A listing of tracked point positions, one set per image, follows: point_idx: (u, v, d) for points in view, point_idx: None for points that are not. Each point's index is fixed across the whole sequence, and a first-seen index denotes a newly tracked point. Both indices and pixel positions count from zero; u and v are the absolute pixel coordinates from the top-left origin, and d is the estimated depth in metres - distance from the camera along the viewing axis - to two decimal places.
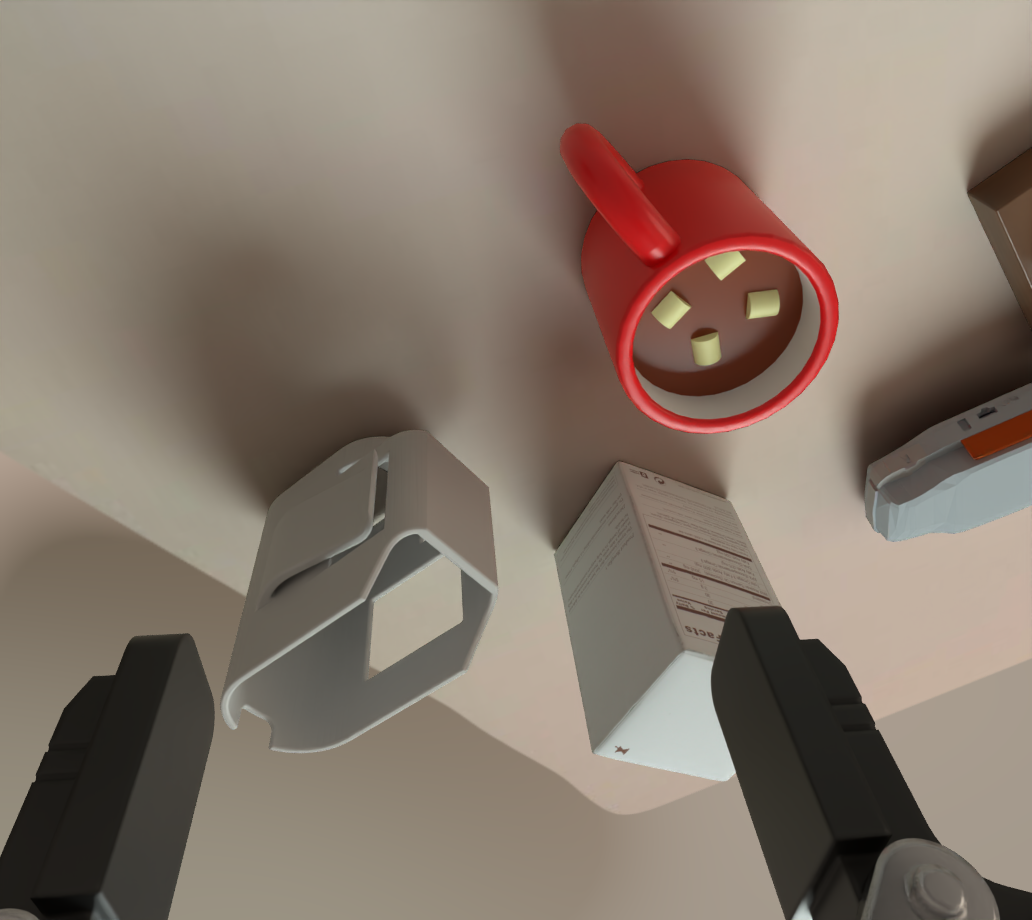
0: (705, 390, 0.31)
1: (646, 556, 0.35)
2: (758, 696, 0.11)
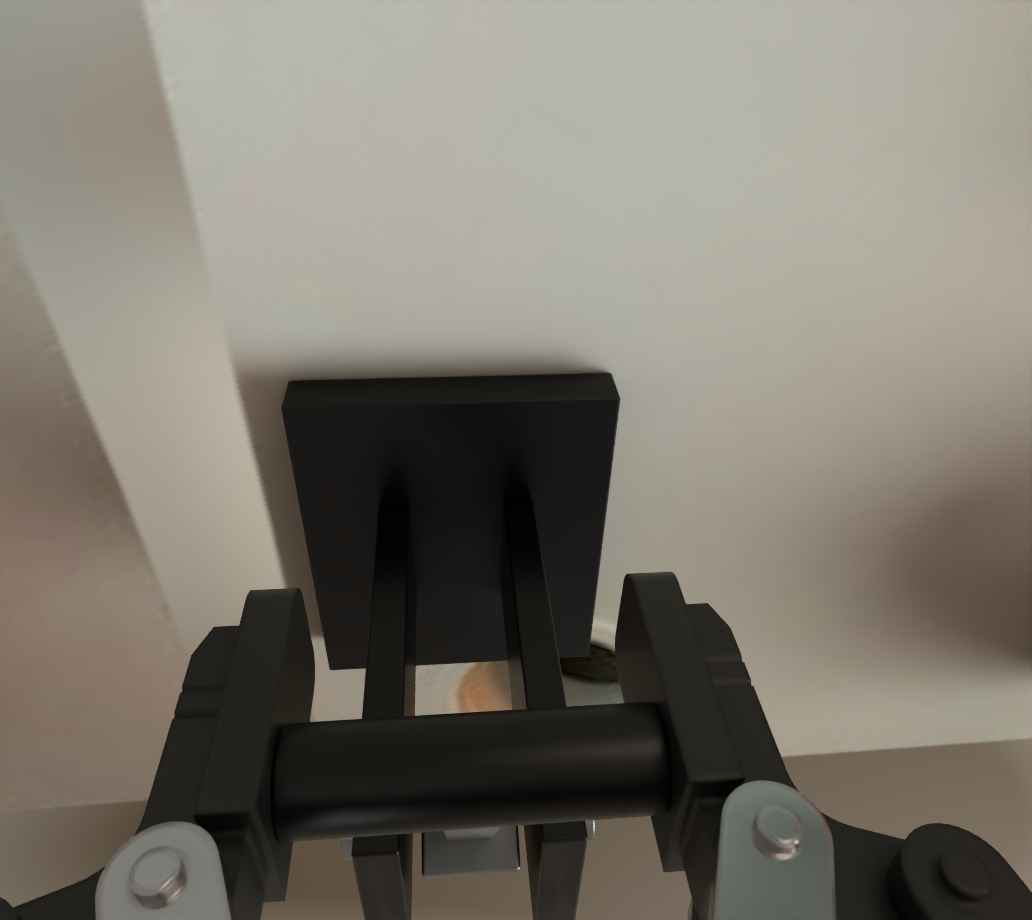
0: None
1: None
2: (643, 654, 0.11)
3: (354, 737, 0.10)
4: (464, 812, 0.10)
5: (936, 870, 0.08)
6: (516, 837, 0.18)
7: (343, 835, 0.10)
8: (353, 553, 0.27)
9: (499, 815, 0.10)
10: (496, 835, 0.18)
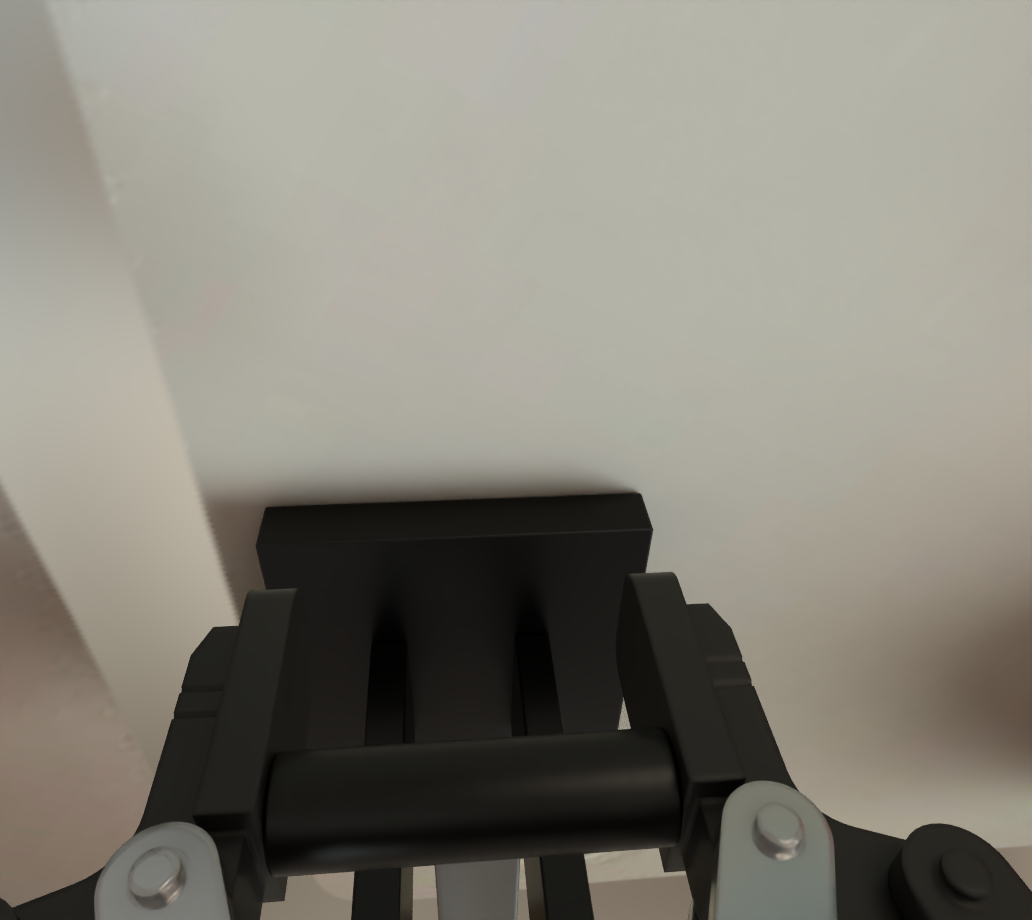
0: None
1: None
2: (644, 655, 0.11)
3: (353, 750, 0.10)
4: (465, 821, 0.09)
5: (937, 870, 0.08)
6: None
7: (336, 856, 0.09)
8: (341, 691, 0.23)
9: (502, 827, 0.09)
10: None
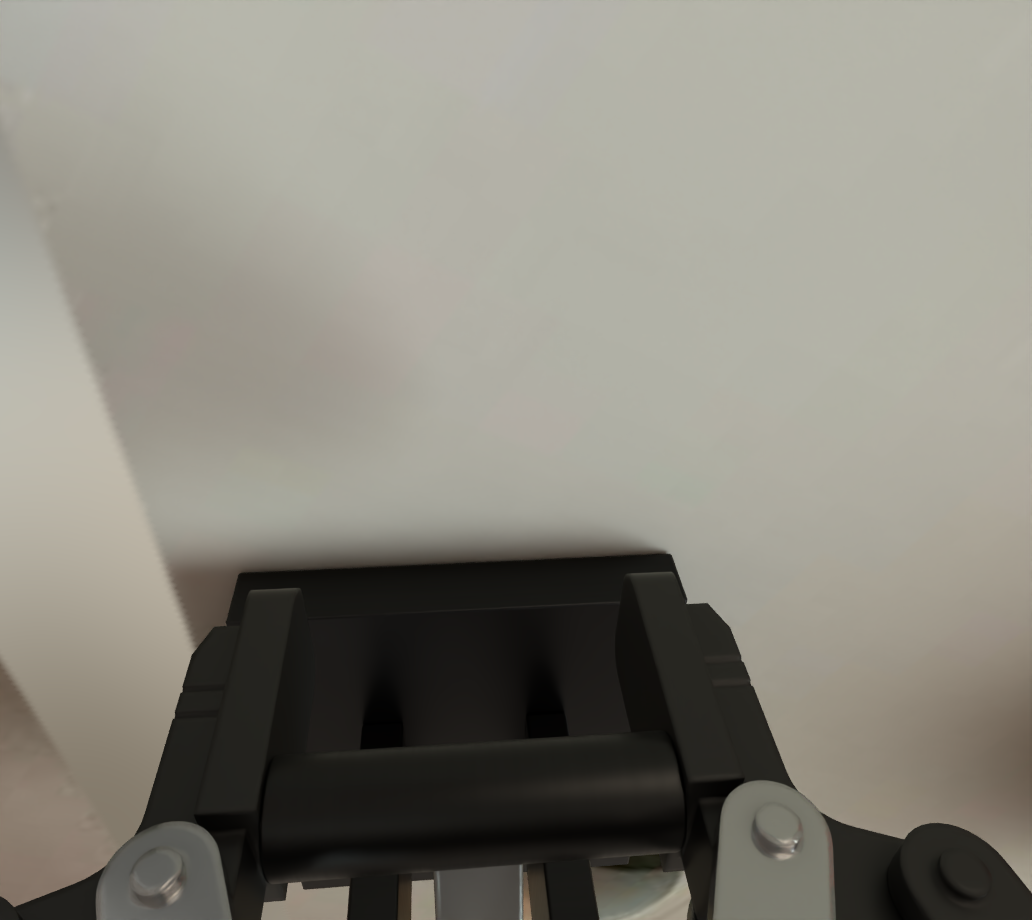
0: None
1: None
2: (643, 655, 0.11)
3: (353, 750, 0.10)
4: (464, 807, 0.09)
5: (936, 870, 0.08)
6: None
7: (332, 847, 0.09)
8: None
9: (502, 815, 0.09)
10: None
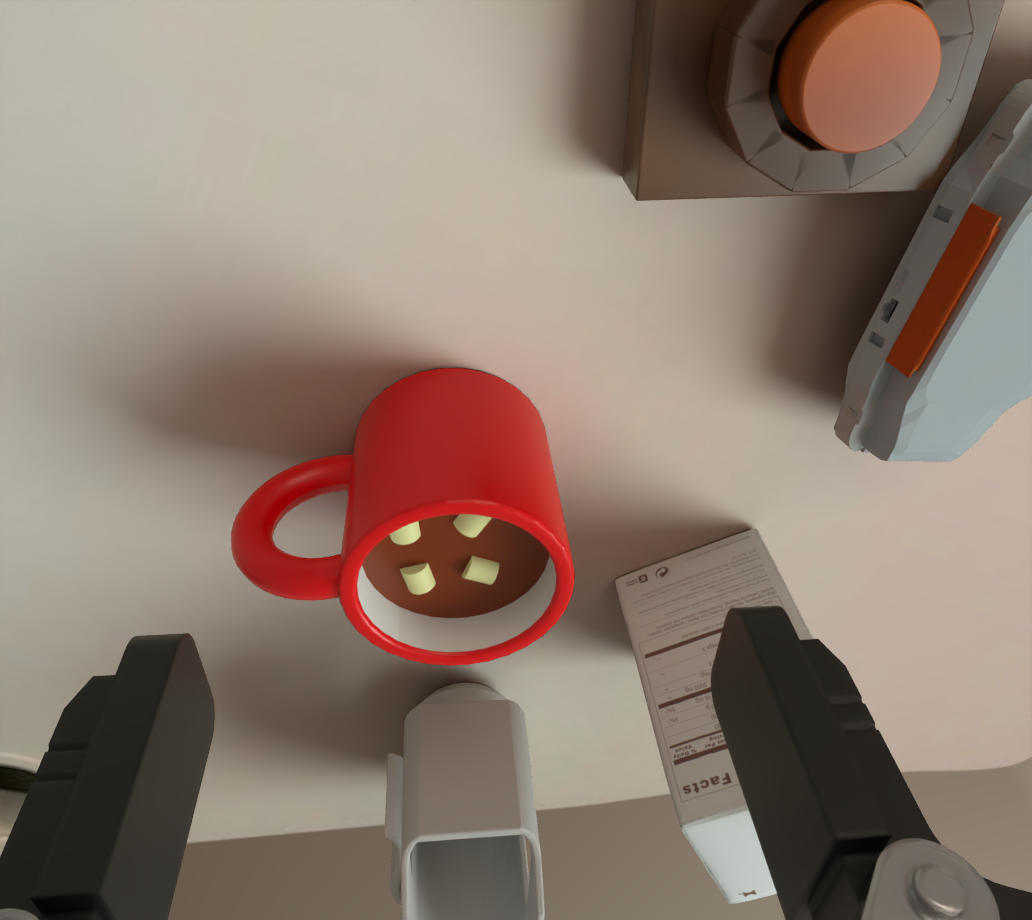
0: (525, 585, 0.29)
1: None
2: (759, 696, 0.11)
3: None
4: None
5: None
6: None
7: None
8: None
9: None
10: None
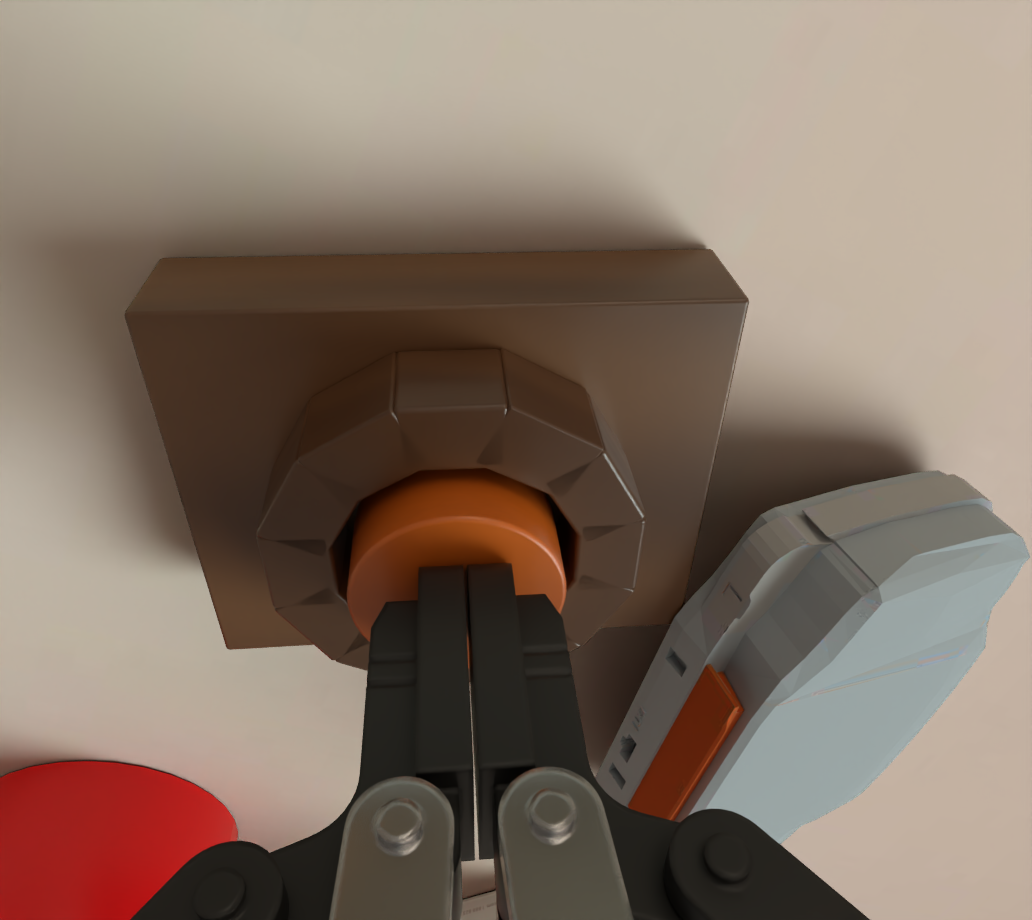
0: None
1: None
2: None
3: None
4: None
5: (701, 854, 0.08)
6: None
7: None
8: None
9: None
10: None
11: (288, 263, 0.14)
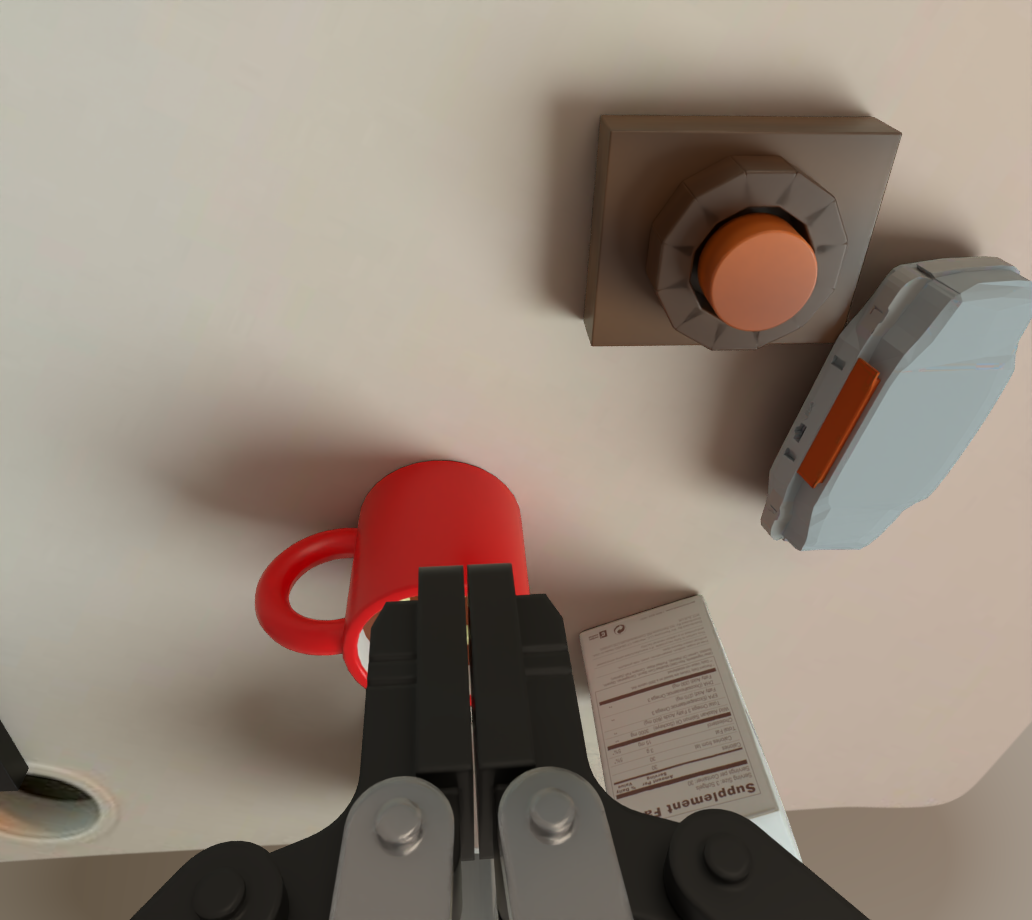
0: None
1: (598, 744, 0.38)
2: None
3: None
4: None
5: (701, 854, 0.08)
6: None
7: None
8: None
9: None
10: None
11: (666, 117, 0.28)
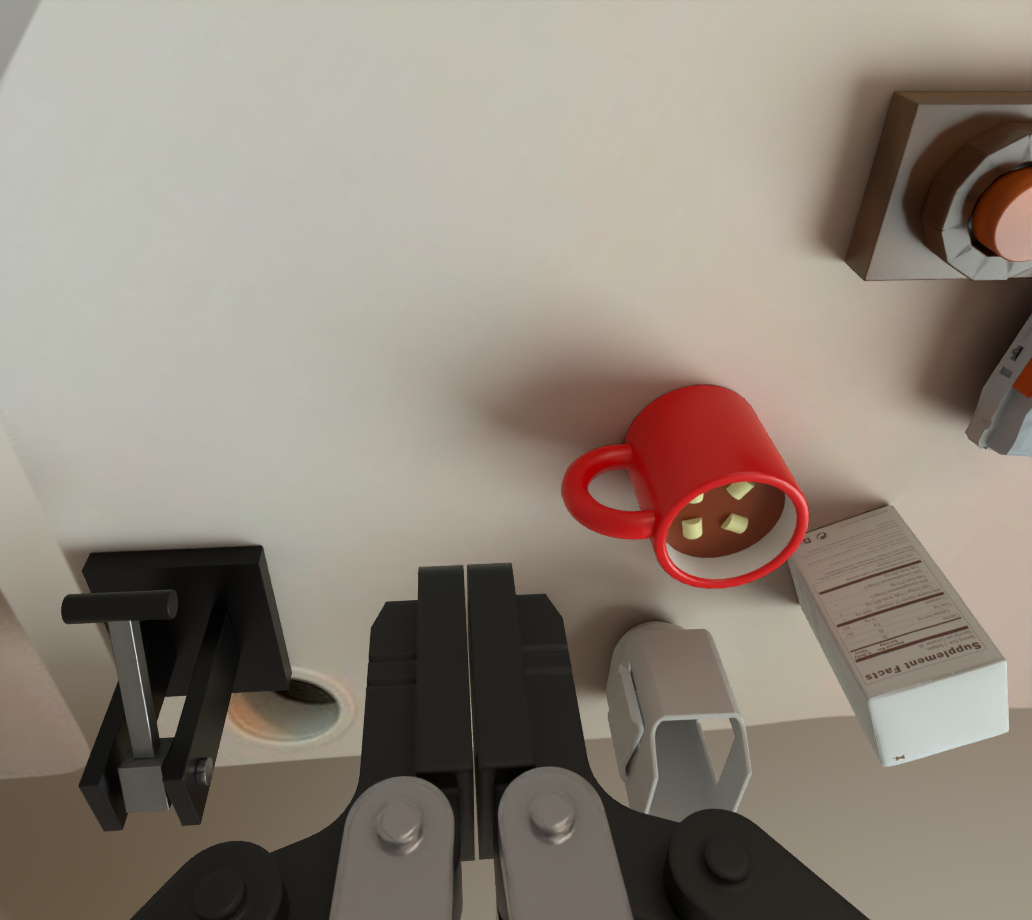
0: (760, 535, 0.42)
1: (825, 624, 0.46)
2: None
3: (90, 593, 0.39)
4: (111, 604, 0.38)
5: (700, 854, 0.08)
6: (164, 757, 0.41)
7: (78, 612, 0.38)
8: None
9: (121, 606, 0.38)
10: (156, 757, 0.41)
11: (947, 92, 0.35)
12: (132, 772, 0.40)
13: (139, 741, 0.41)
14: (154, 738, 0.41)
